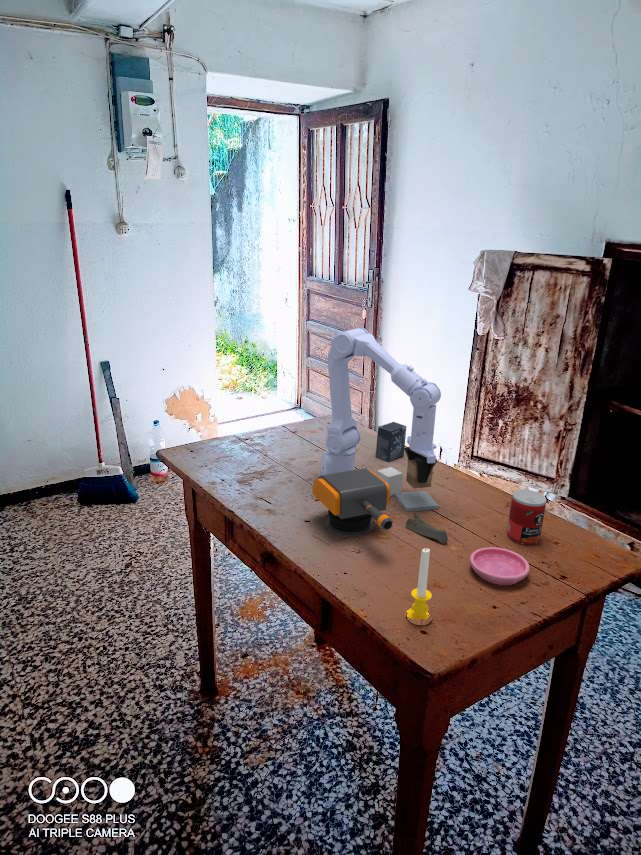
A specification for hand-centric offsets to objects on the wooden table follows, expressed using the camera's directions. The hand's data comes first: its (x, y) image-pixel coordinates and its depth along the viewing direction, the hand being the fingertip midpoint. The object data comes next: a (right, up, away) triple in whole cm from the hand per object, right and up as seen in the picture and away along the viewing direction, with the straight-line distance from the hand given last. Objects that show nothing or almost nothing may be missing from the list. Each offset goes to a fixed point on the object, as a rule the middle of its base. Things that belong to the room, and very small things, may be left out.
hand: (418, 477), depth 158 cm
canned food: (+23, -13, -13) cm, 30 cm away
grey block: (-7, -5, +9) cm, 12 cm away
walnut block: (0, -2, +1) cm, 2 cm away
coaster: (0, -7, +2) cm, 7 cm away
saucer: (+13, -19, -28) cm, 36 cm away
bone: (+1, -13, -12) cm, 18 cm away
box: (-4, +4, +33) cm, 33 cm away
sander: (-17, -12, -14) cm, 25 cm away
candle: (-7, -23, -44) cm, 50 cm away
